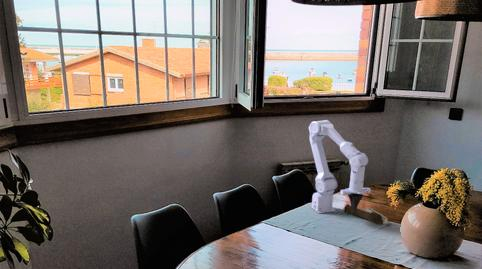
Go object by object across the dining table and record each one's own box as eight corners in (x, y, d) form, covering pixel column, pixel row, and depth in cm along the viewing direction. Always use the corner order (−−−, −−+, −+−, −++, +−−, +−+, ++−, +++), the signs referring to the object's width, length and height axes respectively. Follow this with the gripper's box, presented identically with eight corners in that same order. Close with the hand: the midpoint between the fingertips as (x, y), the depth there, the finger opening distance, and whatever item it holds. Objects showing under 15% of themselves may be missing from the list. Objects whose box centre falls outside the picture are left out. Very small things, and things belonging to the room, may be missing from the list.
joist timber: (381, 224, 162) (382, 218, 161) (365, 213, 173) (365, 208, 172) (387, 223, 162) (387, 218, 162) (370, 212, 174) (370, 207, 173)
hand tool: (343, 212, 173) (343, 203, 172) (348, 210, 176) (348, 202, 175) (378, 227, 159) (380, 217, 158) (383, 225, 161) (384, 215, 160)
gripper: (347, 184, 154) (345, 213, 157) (376, 182, 158) (372, 210, 161) (338, 179, 161) (336, 207, 163) (366, 177, 165) (363, 204, 168)
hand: (353, 208), depth 163 cm, fingers closed
